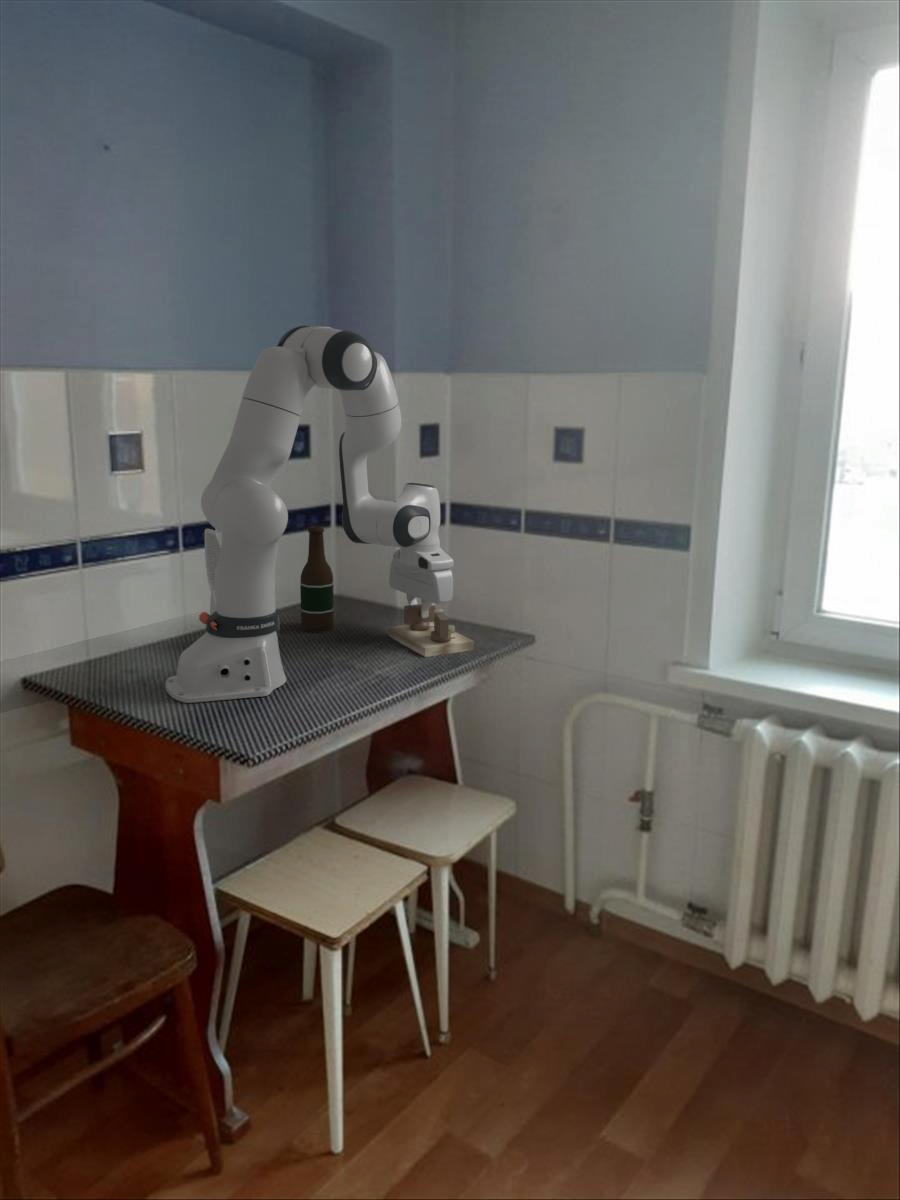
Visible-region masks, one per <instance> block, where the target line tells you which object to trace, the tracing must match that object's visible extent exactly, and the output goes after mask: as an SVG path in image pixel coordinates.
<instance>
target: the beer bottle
mask: <svg viewBox="0 0 900 1200" xmlns="http://www.w3.org/2000/svg"><path fill="white" fill-rule="evenodd" d="M324 528H325V527H323V526H322V525H311V526H309V527H308V530H307V532H308V533H309V534H308V535H309V536H308V552H307V553H308V554H307V555H308V556H307V561H306V563H305V564H304V566H303V568H302V571H301V573H300V587H299V588H300V589H299V590H300V621H301V623H300V624H301V629H302V630H303V631H305V632H306V631H307V632H309V633H324V632H328V631H332V629H333V626H334V625H335V624H334V621H335V619H334V618H335V617H334V616H335V615H334V614H335V611H334V610H335V608H334V606H335V605H334V597H335V596H334V573H333V571H332V568H331V566H330V565H329V563H328V561H327V559H326V555H325V540H324V531H325V529H324Z"/></svg>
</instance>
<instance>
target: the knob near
mask: <svg viewBox="0 0 900 1200" xmlns="http://www.w3.org/2000/svg"><path fill="white" fill-rule="evenodd" d="M444 612H445V610H444V609H435V610H434V630H435V631H432V632H431V640H432V641H434V642H448V641H451V632H450V631H448V627H449V625H450V624H449V618H448V617H447V615H446V614H445V613H444Z"/></svg>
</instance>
